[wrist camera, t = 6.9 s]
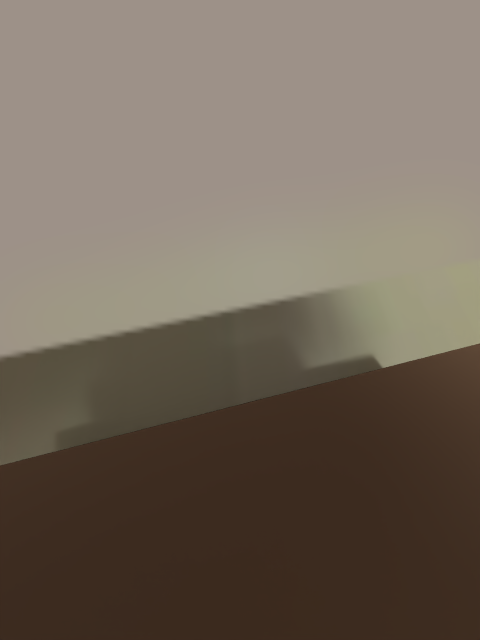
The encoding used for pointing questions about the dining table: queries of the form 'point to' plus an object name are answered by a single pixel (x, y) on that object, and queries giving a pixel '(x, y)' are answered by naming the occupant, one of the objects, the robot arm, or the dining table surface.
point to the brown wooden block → (260, 519)
